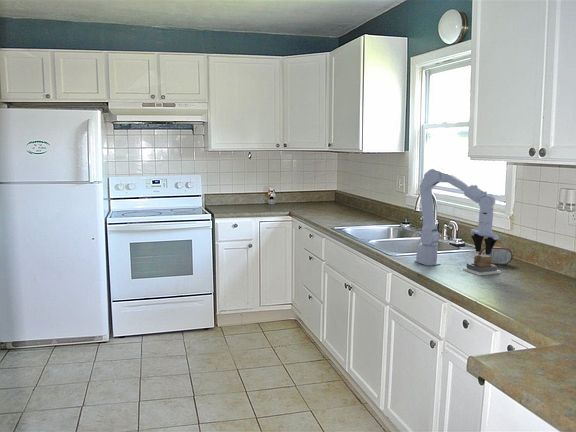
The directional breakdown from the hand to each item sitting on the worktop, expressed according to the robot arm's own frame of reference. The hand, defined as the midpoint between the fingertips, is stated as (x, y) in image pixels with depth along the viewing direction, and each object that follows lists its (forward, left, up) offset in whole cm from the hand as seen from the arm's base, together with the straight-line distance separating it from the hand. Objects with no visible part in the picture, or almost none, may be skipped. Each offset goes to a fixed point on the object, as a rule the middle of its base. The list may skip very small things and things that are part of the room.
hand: (482, 252), depth 237 cm
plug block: (0, 0, -7) cm, 7 cm away
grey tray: (0, 0, -8) cm, 8 cm away
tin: (-9, +17, -9) cm, 21 cm away
